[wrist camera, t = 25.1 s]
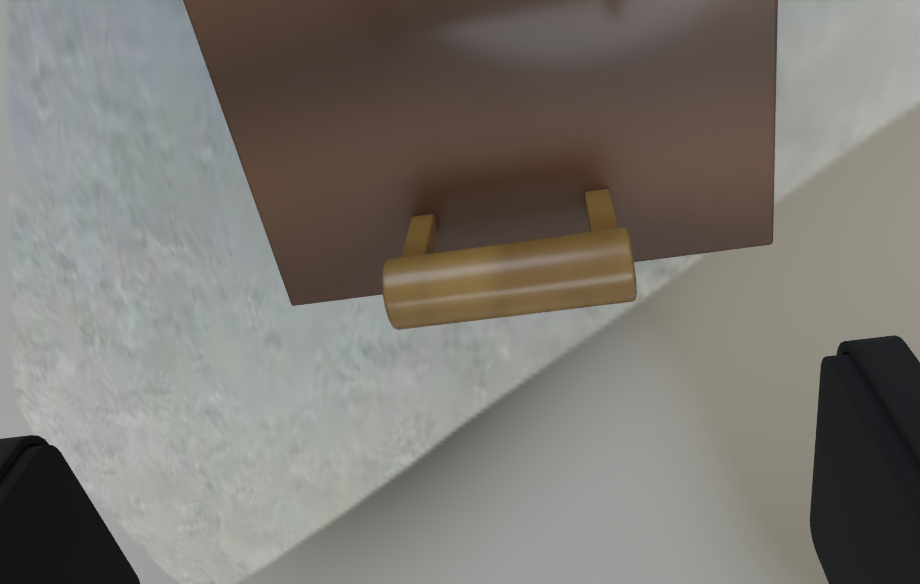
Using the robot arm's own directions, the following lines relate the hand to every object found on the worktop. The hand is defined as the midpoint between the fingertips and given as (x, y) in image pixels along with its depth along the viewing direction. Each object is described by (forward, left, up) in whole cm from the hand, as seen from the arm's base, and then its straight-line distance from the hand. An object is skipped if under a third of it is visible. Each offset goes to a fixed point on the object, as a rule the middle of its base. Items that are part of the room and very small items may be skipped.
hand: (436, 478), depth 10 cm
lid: (-1, 0, -14) cm, 14 cm away
